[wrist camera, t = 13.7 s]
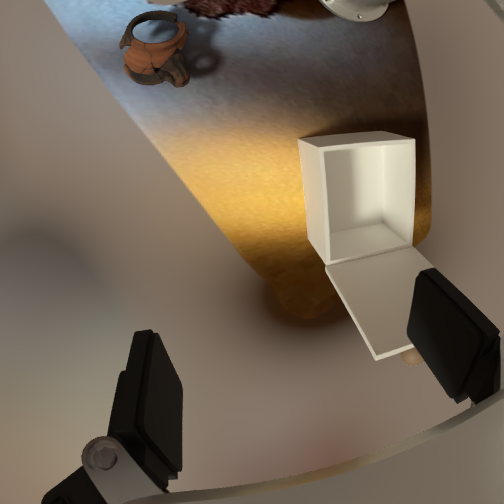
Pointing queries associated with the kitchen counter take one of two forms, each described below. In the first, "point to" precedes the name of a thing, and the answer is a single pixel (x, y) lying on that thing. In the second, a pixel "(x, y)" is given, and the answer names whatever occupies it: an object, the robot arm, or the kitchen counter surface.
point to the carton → (358, 193)
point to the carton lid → (381, 299)
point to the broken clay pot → (155, 54)
